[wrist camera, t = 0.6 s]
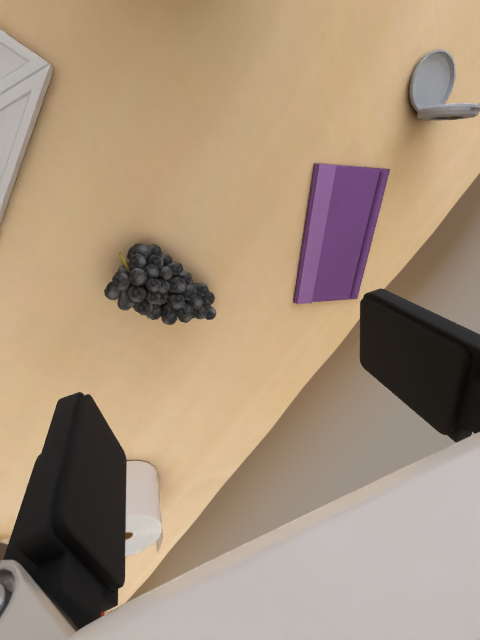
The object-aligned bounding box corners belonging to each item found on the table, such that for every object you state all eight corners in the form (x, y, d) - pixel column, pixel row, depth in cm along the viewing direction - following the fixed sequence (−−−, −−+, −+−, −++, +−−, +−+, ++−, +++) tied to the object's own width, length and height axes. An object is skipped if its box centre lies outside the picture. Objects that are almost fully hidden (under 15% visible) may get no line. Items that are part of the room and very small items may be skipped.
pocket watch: (444, 39, 38) (533, 5, 30) (453, 108, 43) (533, 96, 34) (391, 80, 38) (464, 58, 30) (406, 145, 43) (473, 141, 34)
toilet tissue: (107, 457, 52) (102, 515, 43) (173, 462, 57) (180, 514, 49) (88, 499, 55) (80, 560, 46) (152, 500, 60) (156, 555, 52)
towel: (314, 163, 40) (317, 163, 39) (387, 169, 44) (391, 169, 43) (293, 302, 49) (295, 304, 48) (355, 297, 53) (358, 299, 52)
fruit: (238, 326, 37) (123, 258, 29) (196, 361, 41) (85, 310, 33) (231, 284, 43) (136, 219, 35) (196, 318, 47) (102, 266, 39)
